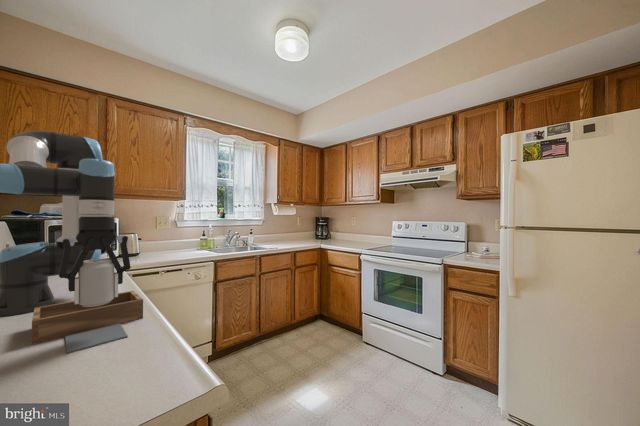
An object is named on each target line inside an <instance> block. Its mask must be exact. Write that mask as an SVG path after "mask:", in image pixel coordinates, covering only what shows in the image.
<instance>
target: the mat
mask: <svg viewBox="0 0 640 426" xmlns="http://www.w3.org/2000/svg"><path fill="white" fill-rule="evenodd" d="M121 324H122V323H118V324H114V325H110V326H106V327H102V328H97V329H93V330H89V331H85V332H81V333H76V334H72V335H68V336H65V337H64V339H65V349H66V355H67V354H71V353H74V352H78V351H82V350H85V349H86V350H87V349H89V348H93V347H97V346H101V345H105V344H108V343H111V342H115V341H118V340H122V339H125V338H128V337H129V336H128V333H127V332H126V331H125V329H124V328H123V326H122V325H121Z"/></svg>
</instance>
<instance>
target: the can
mask: <svg viewBox="0 0 640 426" xmlns="http://www.w3.org/2000/svg"><path fill="white" fill-rule="evenodd" d="M114 273H115V267H114V264H113V263H112V261H111V259H110V258H100V259H92V260H86V261H83V263H82V265H81V267H80V269H79V271H78V273H77V275H78V276H77V277H78V278H79V304H80V305H82V306H83V307H95V306H100V305H104V304H107V303H109V302H110V301H111V300H112V299H114Z"/></svg>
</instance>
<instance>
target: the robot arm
mask: <svg viewBox="0 0 640 426" xmlns="http://www.w3.org/2000/svg"><path fill="white" fill-rule="evenodd" d="M6 152H7V153H8V155H9V161H8V163H0V193H1V194H13V195H36V196H37V195H41V196H62V208H61V209H62V210H61V211H62V215H61V216H62V218H61V220H62V222H61V232H62V233H61V236H60V237H58V238H57V239H56V241H55V243H56V244H53V245H50V244H49V242H47V241H38V242H31V243H22V244H17V245H13V246H12V245H11V246H7V247H4V248H2V249H1V250H0V317H4V316H5V317H6V316H15V315H21V314H27V313H31V312H32V313H33V312H34V308H36V307H42V306H48V305H54V304H55V296H54V294H53V291H52V289H51V287H50V285H49V277H53V276H58V277H59V278H60V279H66V280H68V292H69V293H71V292H73V294H74V295H73V298H74V299H73V301H74V303H75V304H79V278H78V276H77V275H78V271H79V269H80V267H81V265H82V263H83V261H86V260H92V259H101V253H102V251H105V252H106V254H107V256H108V259H111V262H112V263H113V264H114V270H115V271H116V272H114V297H118V293H119V285H122V284H123V280H124V276H123V274H124V272H126V271H129V270H130V269H131V268H132V267H131V261H130V257H129V252H128V251H129V250H128V240H129V236H126V235H118V234H117V233H116V231H115V217H114V216H113V215H115V182H116V181H115V180H116V179H115V177H116V172H115V164H114V163H113V162H112V161H109V160H105V159H103V153H102V148H101V145H100V143H99V142H98V141H97V140H96V139H93V138H89V137H85V136H79V135H74V134H73V135H72V134H66V133H61V132H54V131H48V130H30V131H24V132H20V133H18V134H15V135H13V136H12V137H10V138H8V140H7V143H6ZM47 164H53V165H56V167H57V168H54V167H48V165H47ZM115 240H117V243H119V248H120V253H121V257H122V258H121V259H122V266H121V264H120V262H119V260H118V258H117V256H116V255H115V252H114V250H113V248H112V246H111V245H112V244H113V243H114V242H115Z"/></svg>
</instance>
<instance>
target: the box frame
mask: <svg viewBox="0 0 640 426" xmlns="http://www.w3.org/2000/svg"><path fill="white" fill-rule="evenodd" d="M32 314H33V315H32V320H31V345H36V344H41V343H45V342H49V341H52V340H56V339H61V338H65V336H68V335H72V334H76V333H81V332H85V331H89V330H93V329H97V328H102V327H106V326H110V325H114V324H118V323H120V324H124V323H129V322H133V321H136V320H141V319H144V298H143V297H141V296H140V295H139V294H138V293H136V292H135V291H134V290H131V291H130V290H129V291H125V292H118V297H114V299H112V300H111V301H110V302H109V303H107V304H104V305H100V306H95V307H83V306H82V305H80V304H75V303H74V300H72V301H65V302H62V303H60V302H59V303H54V304H53V305H48V306H42V307H36V308H34V311H33V312H32Z"/></svg>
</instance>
